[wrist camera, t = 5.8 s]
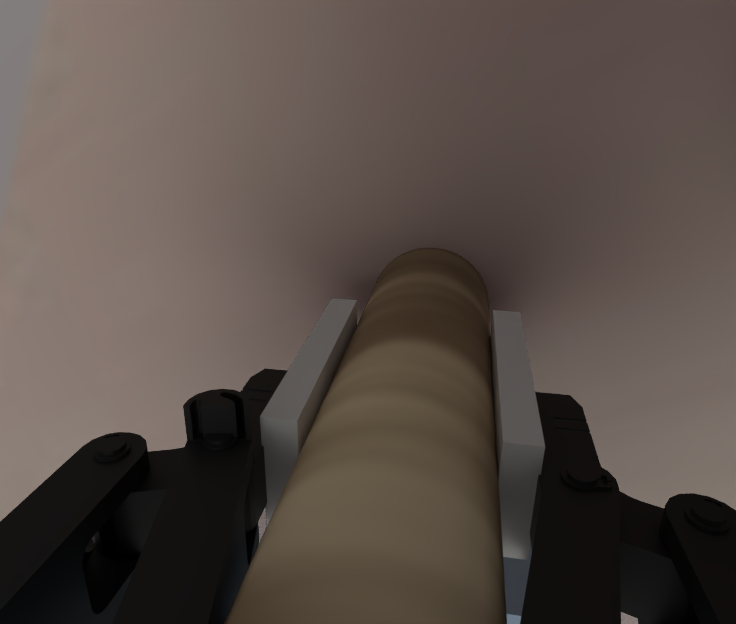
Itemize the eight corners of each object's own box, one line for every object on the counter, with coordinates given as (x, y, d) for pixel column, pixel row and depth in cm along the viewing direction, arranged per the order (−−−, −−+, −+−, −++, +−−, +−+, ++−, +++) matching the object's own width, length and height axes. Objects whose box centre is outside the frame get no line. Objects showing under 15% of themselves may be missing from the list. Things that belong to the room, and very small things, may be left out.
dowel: (374, 244, 21) (175, 604, 7) (493, 251, 20) (534, 659, 6) (372, 349, 22) (206, 815, 8) (482, 359, 21) (498, 875, 8)
